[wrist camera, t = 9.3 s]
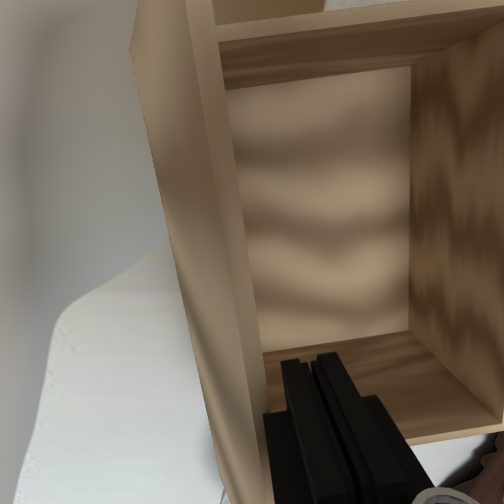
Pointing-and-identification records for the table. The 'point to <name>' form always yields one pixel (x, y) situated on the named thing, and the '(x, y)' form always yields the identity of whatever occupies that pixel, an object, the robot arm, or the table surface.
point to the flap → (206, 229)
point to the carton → (378, 201)
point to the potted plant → (488, 477)
